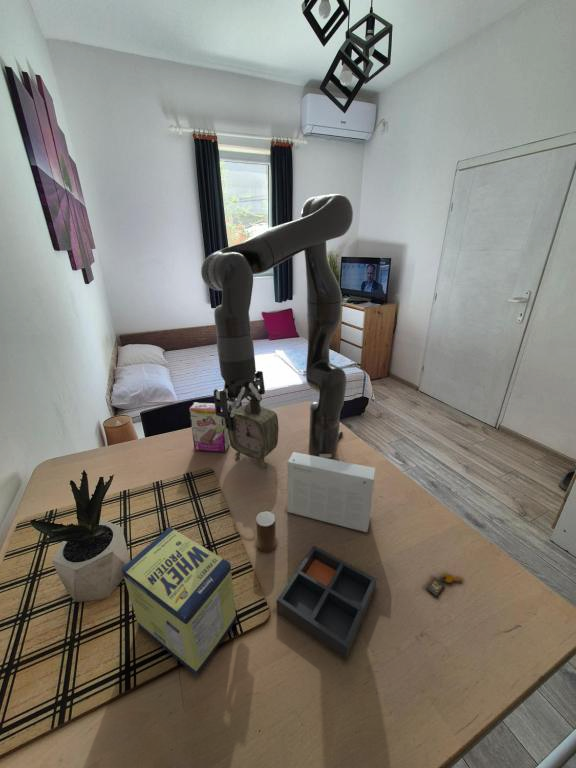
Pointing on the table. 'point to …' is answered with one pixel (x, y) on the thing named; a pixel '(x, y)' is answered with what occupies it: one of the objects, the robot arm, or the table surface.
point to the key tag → (440, 584)
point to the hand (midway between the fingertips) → (244, 421)
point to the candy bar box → (208, 428)
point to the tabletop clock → (254, 432)
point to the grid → (327, 599)
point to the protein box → (182, 597)
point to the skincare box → (330, 490)
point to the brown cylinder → (266, 531)
